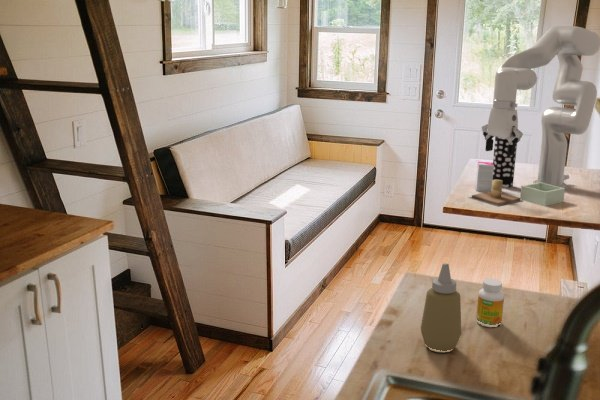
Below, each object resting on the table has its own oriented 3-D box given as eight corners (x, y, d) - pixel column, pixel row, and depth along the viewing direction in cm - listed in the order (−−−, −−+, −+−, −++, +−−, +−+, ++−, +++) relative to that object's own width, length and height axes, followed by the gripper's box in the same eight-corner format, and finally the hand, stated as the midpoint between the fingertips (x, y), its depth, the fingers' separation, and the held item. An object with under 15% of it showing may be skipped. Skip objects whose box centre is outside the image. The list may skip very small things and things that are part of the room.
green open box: (538, 197, 242) (539, 182, 240) (563, 204, 233) (565, 188, 232) (519, 201, 236) (521, 185, 234) (544, 208, 228) (546, 192, 226)
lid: (493, 193, 243) (495, 175, 242) (519, 200, 234) (521, 181, 232) (471, 197, 237) (473, 179, 235) (497, 205, 227) (499, 186, 226)
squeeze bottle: (415, 338, 134) (419, 257, 130) (452, 337, 135) (459, 256, 130) (425, 358, 127) (431, 272, 122) (465, 356, 127) (472, 271, 122)
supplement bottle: (477, 327, 139) (480, 285, 137) (474, 316, 144) (478, 276, 142) (502, 329, 139) (507, 287, 136) (499, 318, 144) (503, 278, 141)
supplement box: (491, 194, 246) (494, 165, 243) (475, 193, 247) (477, 164, 244) (490, 190, 251) (492, 161, 248) (474, 189, 252) (477, 161, 249)
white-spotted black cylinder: (487, 187, 256) (491, 137, 251) (496, 183, 262) (501, 135, 256) (506, 191, 251) (511, 140, 245) (516, 187, 256) (521, 137, 251)
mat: (493, 194, 245) (493, 192, 245) (523, 203, 234) (524, 200, 234) (467, 200, 238) (467, 197, 237) (497, 209, 226) (498, 206, 226)
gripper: (531, 107, 221) (526, 156, 226) (491, 101, 235) (487, 148, 240) (517, 108, 217) (512, 158, 222) (477, 103, 231) (473, 150, 236)
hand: (499, 153), depth 231 cm, fingers open, 9 cm apart
